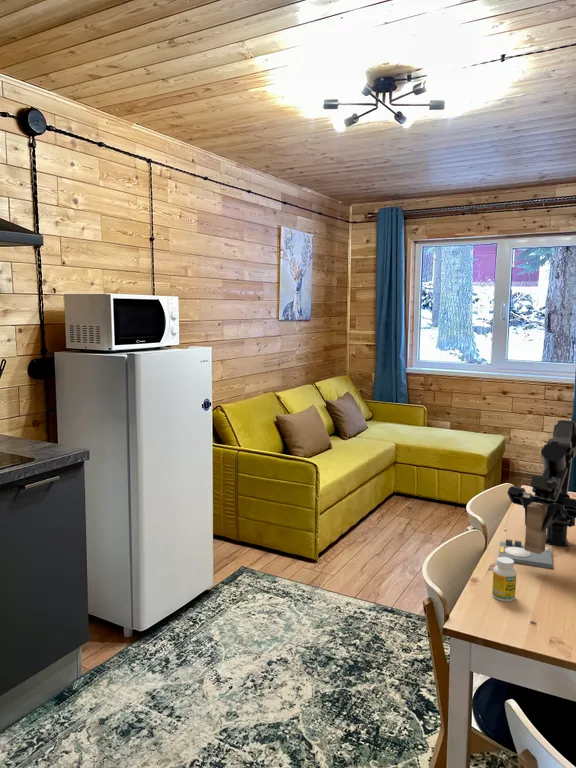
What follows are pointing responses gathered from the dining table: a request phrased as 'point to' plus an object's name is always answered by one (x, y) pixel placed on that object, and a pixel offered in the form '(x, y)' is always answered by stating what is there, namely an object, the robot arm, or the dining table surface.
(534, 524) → the post
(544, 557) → the panel
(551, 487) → the robot arm
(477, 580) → the dining table surface
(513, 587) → the supplement bottle
